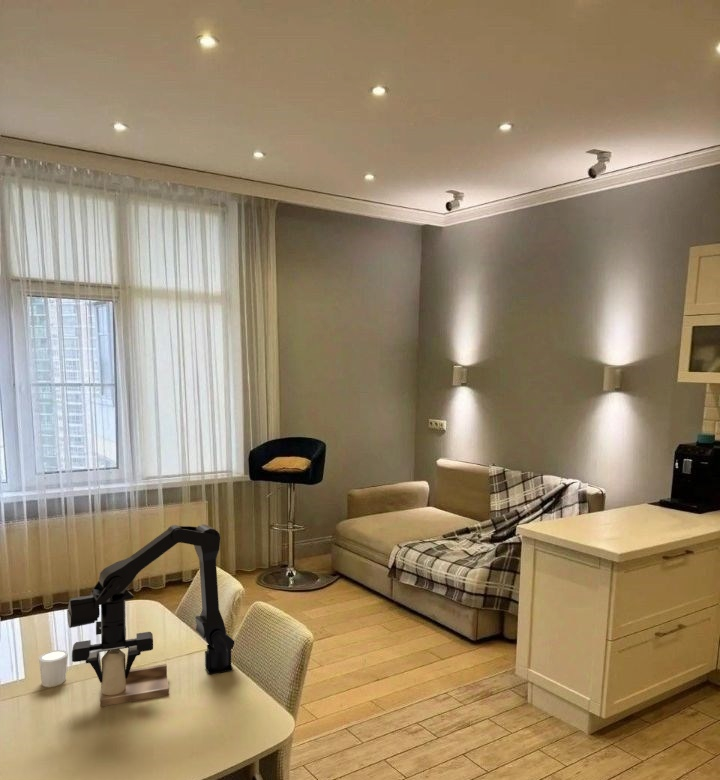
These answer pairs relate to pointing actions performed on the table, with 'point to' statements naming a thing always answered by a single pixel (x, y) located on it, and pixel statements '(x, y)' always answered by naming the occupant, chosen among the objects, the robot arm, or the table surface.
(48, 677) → the white cylinder
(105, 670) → the candle
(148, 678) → the board
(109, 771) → the table surface
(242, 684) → the table surface
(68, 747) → the table surface
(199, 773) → the table surface
